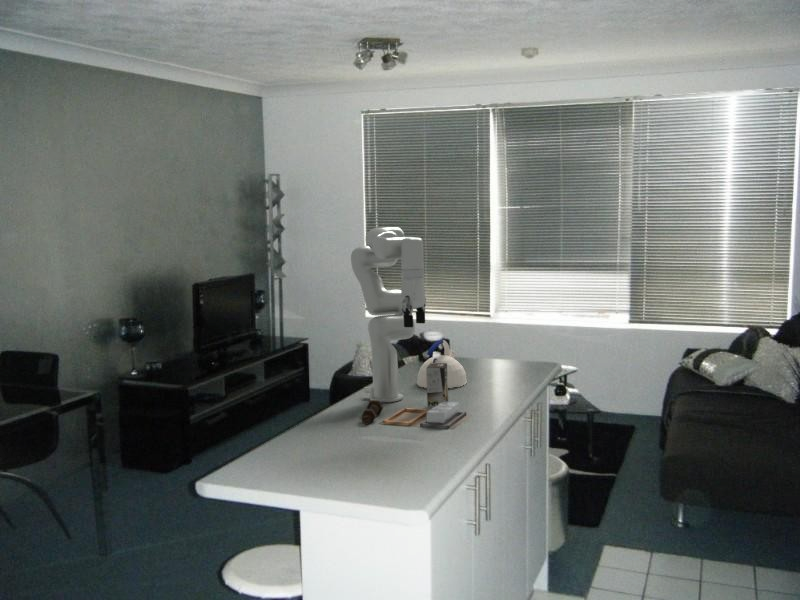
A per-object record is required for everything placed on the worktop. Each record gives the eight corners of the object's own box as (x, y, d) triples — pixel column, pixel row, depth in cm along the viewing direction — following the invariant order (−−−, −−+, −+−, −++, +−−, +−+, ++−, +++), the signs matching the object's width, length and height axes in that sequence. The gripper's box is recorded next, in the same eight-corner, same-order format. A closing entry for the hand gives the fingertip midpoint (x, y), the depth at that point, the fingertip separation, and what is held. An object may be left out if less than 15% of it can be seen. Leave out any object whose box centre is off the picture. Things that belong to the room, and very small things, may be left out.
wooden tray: (378, 427, 265) (378, 420, 265) (400, 413, 282) (400, 407, 282) (453, 433, 255) (453, 426, 255) (471, 418, 272) (471, 412, 271)
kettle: (476, 381, 332) (474, 337, 330) (451, 391, 315) (450, 345, 313) (433, 377, 343) (432, 335, 341) (407, 387, 326) (405, 342, 324)
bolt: (364, 430, 269) (373, 417, 284) (376, 423, 268) (385, 410, 282) (355, 415, 269) (365, 403, 283) (367, 408, 268) (376, 396, 282)
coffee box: (445, 413, 280) (444, 367, 278) (427, 413, 281) (425, 367, 280) (449, 407, 289) (447, 362, 287) (431, 406, 290) (429, 362, 289)
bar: (427, 425, 260) (426, 412, 260) (443, 414, 274) (442, 401, 273) (444, 427, 258) (444, 413, 257) (459, 415, 271) (459, 402, 271)
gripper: (413, 272, 281) (415, 321, 283) (391, 276, 266) (393, 328, 267) (433, 272, 278) (435, 322, 279) (412, 276, 262) (414, 329, 264)
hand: (414, 325), depth 273 cm, fingers open, 9 cm apart
